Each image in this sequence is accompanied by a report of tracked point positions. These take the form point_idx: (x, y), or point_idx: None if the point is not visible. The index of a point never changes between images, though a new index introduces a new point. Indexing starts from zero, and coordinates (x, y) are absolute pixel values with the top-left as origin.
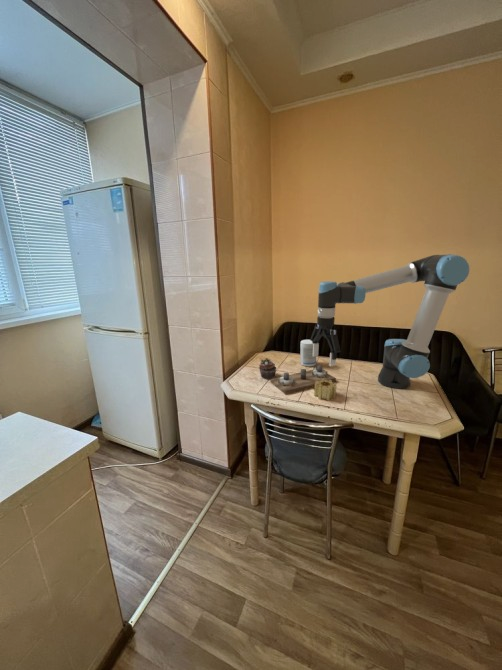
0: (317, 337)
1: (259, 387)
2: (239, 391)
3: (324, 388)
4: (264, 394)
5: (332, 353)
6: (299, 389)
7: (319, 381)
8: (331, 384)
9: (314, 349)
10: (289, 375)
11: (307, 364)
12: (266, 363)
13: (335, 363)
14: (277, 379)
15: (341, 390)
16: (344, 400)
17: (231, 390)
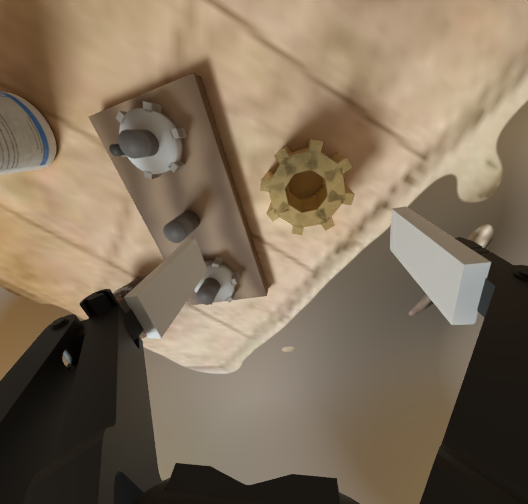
0: (150, 422)
1: (219, 326)
2: (233, 361)
3: (335, 209)
4: (257, 327)
5: (469, 301)
6: (254, 249)
7: (278, 206)
8: (321, 169)
9: (184, 296)
10: (164, 252)
11: (49, 149)
12: (140, 336)
13: (412, 211)
14: (192, 292)
15: (286, 91)
16: (368, 123)
17: (226, 370)
